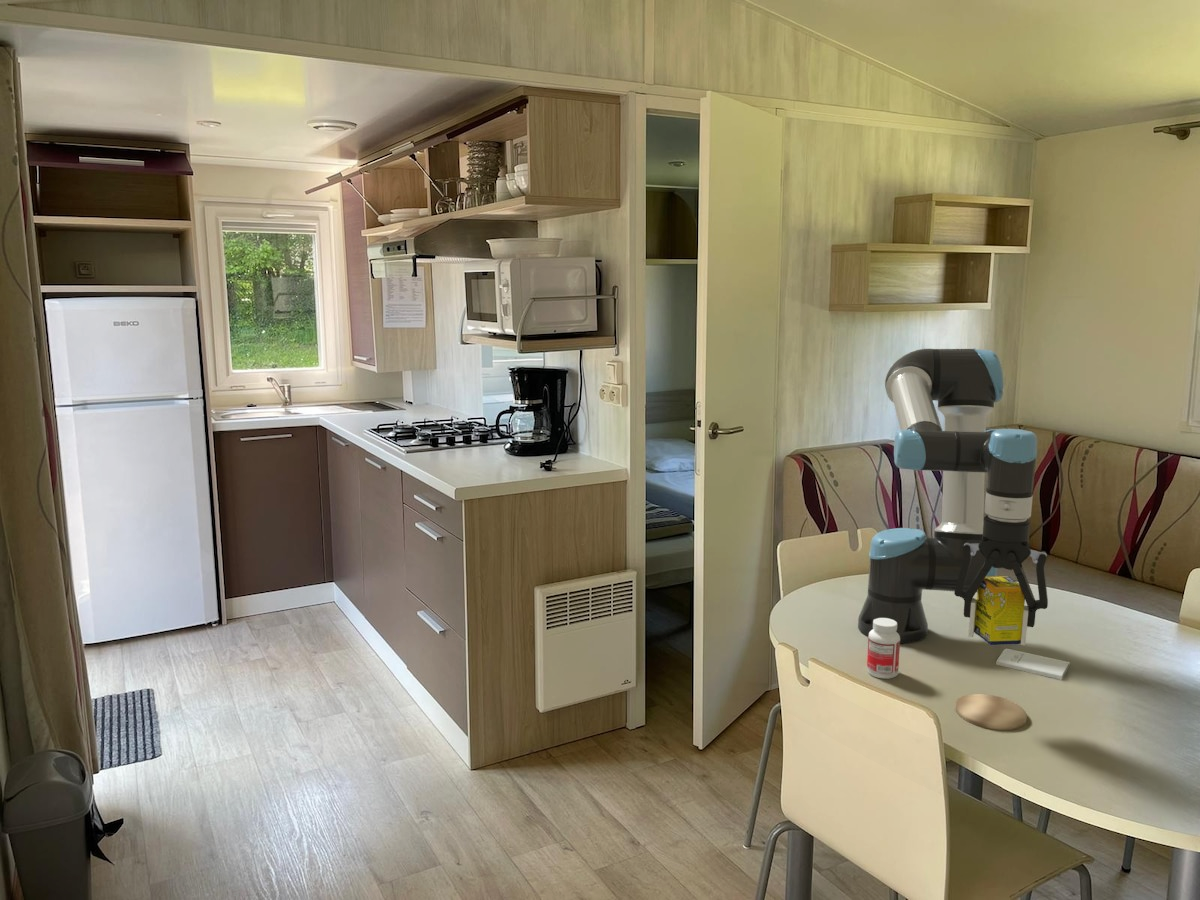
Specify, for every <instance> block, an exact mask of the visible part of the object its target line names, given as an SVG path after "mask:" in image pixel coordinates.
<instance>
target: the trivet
mask: <svg viewBox="0 0 1200 900" xmlns="http://www.w3.org/2000/svg"><path fill="white" fill-rule="evenodd" d="M955 711H956V713H957V714H958V716H959V717H960V718H962V719H963V720H964V721H966V722H968V723H969V724H970V723H971V725H972V724H973V725H974V726H978V727H981V728H985V729H990V730H998V731H1011V730H1012V731H1013V730H1017V729H1020V728H1022V727H1024V726H1025V725H1026V724H1027V716H1028V715H1027V711H1026V710H1025V709H1024V708H1023V707H1022V706H1021V705H1019V704H1018V703H1015V702H1014V701H1012V700H1010V699H1007V698H1004V697H1000V696H995V695H992V694H983V693H973V694H967V695H966V694H965V695H963V696H960V697H959V698H957V700H956V702H955Z"/></svg>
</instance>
